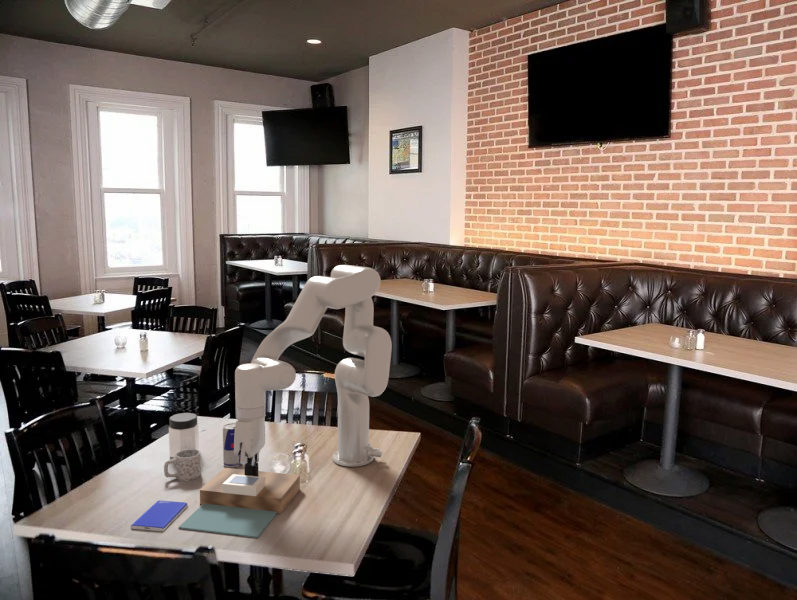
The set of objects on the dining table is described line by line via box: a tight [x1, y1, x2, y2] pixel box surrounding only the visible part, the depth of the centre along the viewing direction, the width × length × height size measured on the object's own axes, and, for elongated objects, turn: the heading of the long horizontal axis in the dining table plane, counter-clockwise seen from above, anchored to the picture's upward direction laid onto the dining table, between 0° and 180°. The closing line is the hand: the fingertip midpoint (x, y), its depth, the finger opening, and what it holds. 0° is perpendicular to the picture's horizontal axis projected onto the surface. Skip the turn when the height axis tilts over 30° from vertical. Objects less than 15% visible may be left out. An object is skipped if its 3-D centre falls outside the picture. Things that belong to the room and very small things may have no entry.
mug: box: [163, 449, 202, 482], centre depth 171 cm, size 10×7×7 cm
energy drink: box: [222, 422, 242, 469], centre depth 180 cm, size 5×5×12 cm
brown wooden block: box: [199, 467, 301, 515], centre depth 160 cm, size 22×14×4 cm, turn 79°
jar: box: [168, 412, 200, 459], centre depth 187 cm, size 9×8×12 cm
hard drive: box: [130, 499, 188, 532], centre depth 149 cm, size 2×8×12 cm
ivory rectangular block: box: [222, 474, 265, 496], centre depth 156 cm, size 9×6×2 cm, turn 80°
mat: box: [178, 504, 278, 539], centre depth 148 cm, size 20×12×1 cm, turn 79°
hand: (251, 477), depth 160 cm, fingers closed
